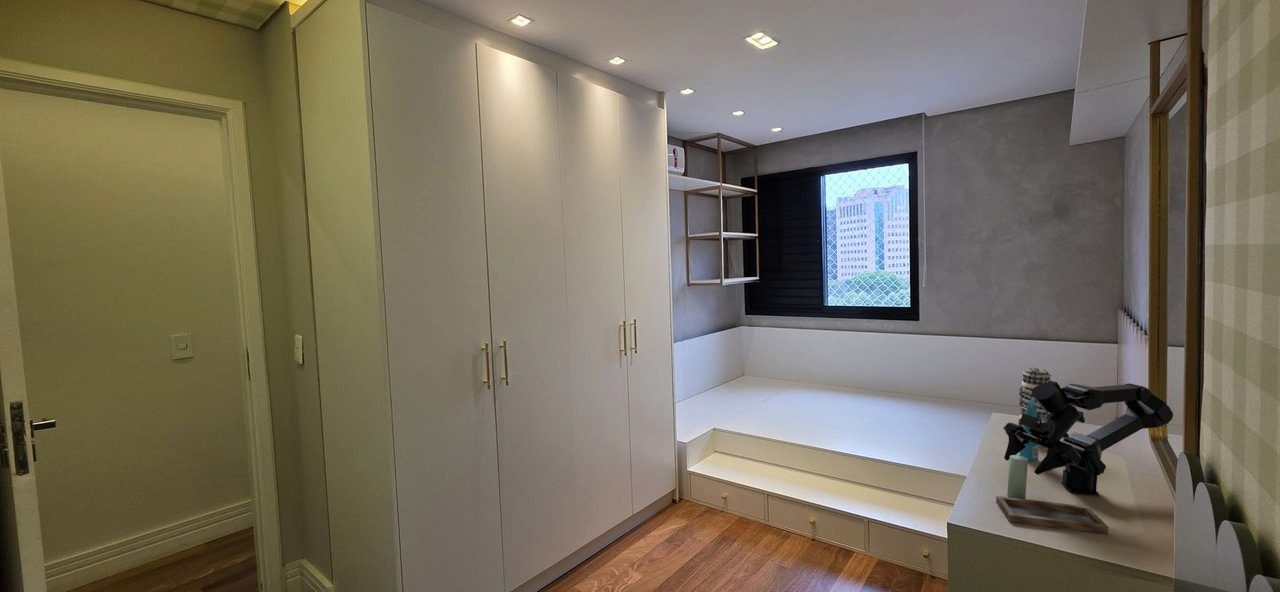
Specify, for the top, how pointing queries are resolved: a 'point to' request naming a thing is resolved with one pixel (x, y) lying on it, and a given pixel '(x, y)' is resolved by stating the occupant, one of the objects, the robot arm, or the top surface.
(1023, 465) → the post
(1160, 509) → the top surface
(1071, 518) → the brown wooden flat tray
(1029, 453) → the tube
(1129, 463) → the top surface
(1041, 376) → the decorative candle
